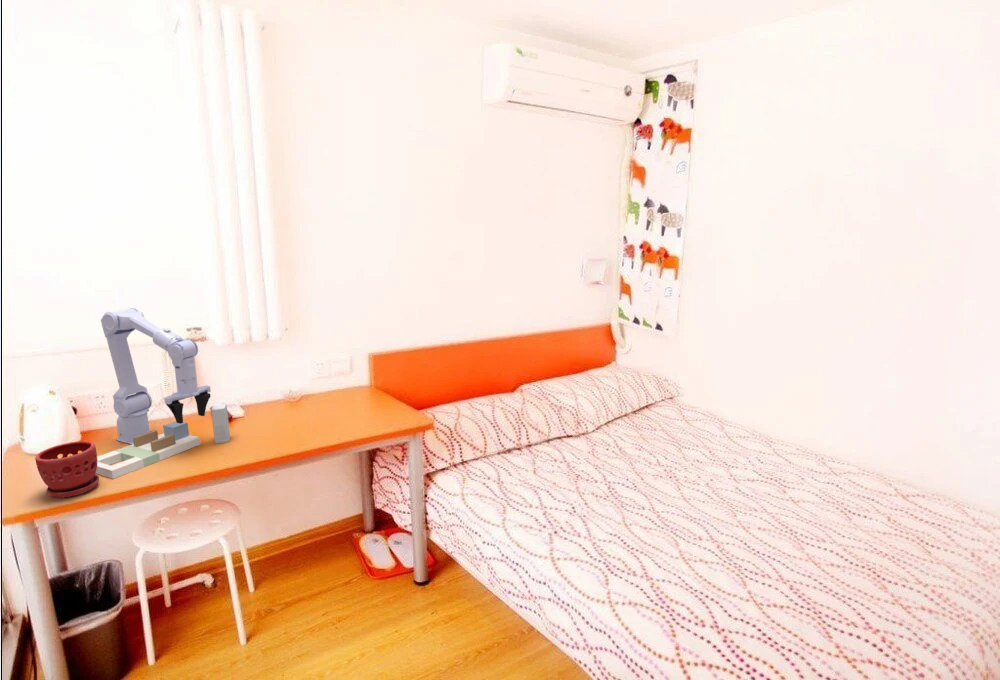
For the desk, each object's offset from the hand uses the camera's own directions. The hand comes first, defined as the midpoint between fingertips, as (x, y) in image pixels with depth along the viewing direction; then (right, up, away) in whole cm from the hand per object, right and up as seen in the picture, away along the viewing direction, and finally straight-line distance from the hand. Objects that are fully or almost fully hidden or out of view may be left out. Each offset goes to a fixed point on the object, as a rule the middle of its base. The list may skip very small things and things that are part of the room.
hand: (190, 419), depth 182 cm
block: (-7, -7, +5) cm, 11 cm away
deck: (-12, -11, -4) cm, 17 cm away
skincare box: (+6, -9, +9) cm, 14 cm away
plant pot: (-18, -16, -26) cm, 36 cm away
